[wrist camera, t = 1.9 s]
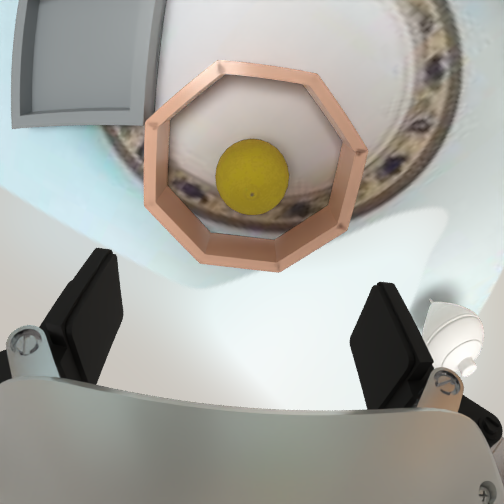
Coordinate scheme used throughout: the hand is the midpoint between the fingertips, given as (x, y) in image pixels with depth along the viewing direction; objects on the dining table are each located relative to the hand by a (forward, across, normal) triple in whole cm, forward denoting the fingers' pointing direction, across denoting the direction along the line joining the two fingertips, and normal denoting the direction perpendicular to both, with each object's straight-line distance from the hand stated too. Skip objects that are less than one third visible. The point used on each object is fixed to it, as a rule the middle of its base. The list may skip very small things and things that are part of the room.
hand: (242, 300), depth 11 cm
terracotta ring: (+19, 0, 0) cm, 19 cm away
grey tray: (+19, +16, -10) cm, 26 cm away
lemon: (+19, 0, 0) cm, 19 cm away
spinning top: (+19, -24, +13) cm, 34 cm away
